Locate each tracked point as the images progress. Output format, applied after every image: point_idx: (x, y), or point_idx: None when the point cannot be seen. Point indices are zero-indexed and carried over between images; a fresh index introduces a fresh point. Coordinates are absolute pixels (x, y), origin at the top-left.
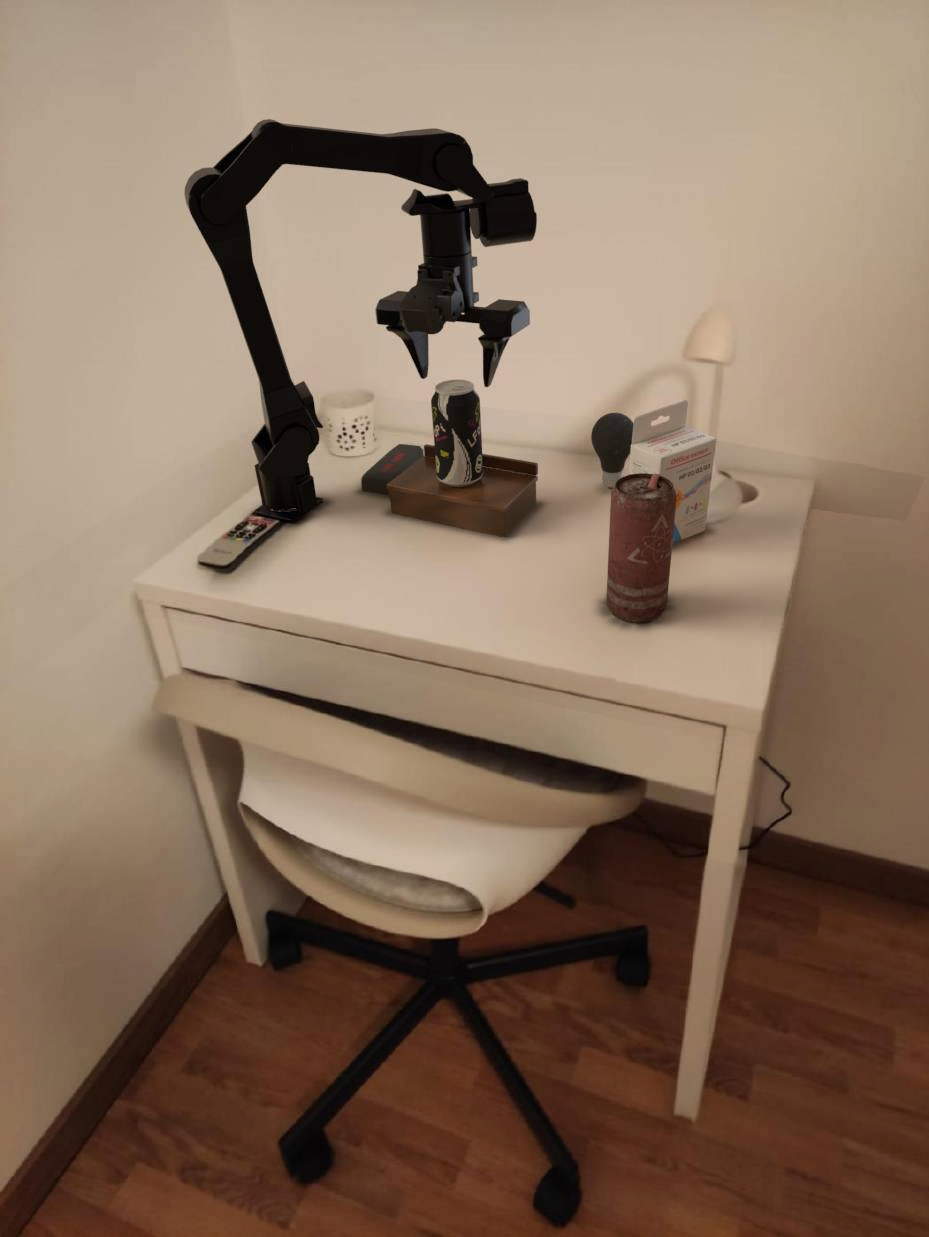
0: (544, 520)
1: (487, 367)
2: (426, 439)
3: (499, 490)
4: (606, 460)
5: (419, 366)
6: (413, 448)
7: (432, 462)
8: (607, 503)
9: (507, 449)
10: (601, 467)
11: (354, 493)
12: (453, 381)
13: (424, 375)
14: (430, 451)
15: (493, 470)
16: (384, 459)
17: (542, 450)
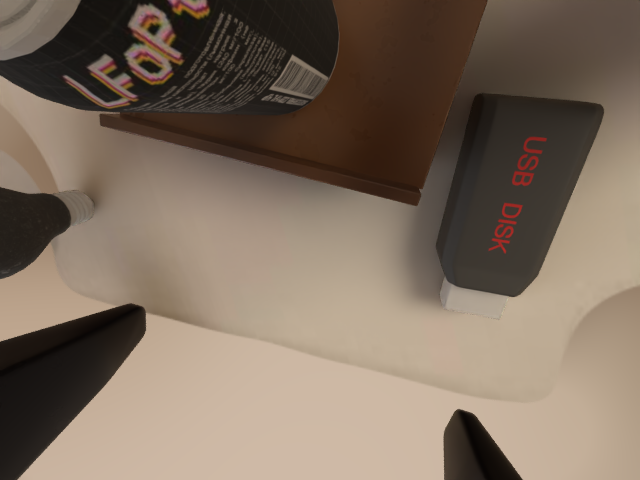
0: None
1: (9, 349)
2: (461, 373)
3: None
4: (22, 193)
5: (493, 473)
6: (471, 276)
7: (386, 149)
8: (72, 145)
9: (293, 332)
10: (63, 207)
11: (607, 91)
12: (21, 23)
13: (455, 427)
14: (399, 185)
15: (219, 126)
16: (545, 211)
17: (236, 329)
